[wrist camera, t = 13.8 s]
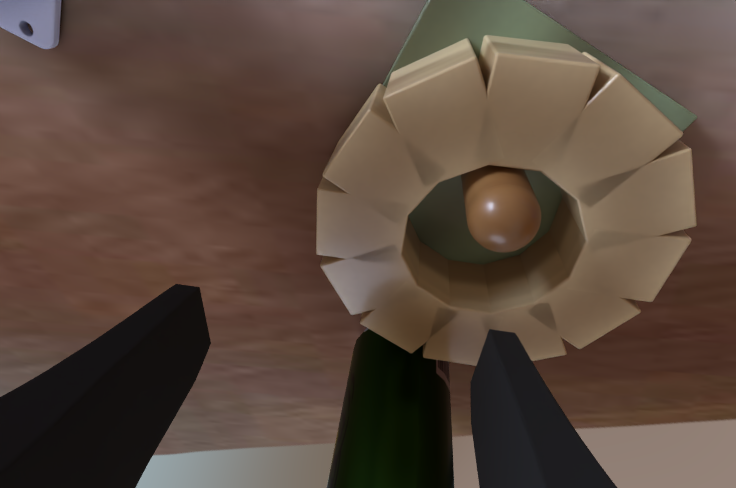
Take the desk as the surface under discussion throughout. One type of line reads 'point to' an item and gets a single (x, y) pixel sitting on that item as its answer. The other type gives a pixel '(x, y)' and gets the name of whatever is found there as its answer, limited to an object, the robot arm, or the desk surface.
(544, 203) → the stand
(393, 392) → the beer can
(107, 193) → the desk surface
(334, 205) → the ring
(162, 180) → the desk surface
